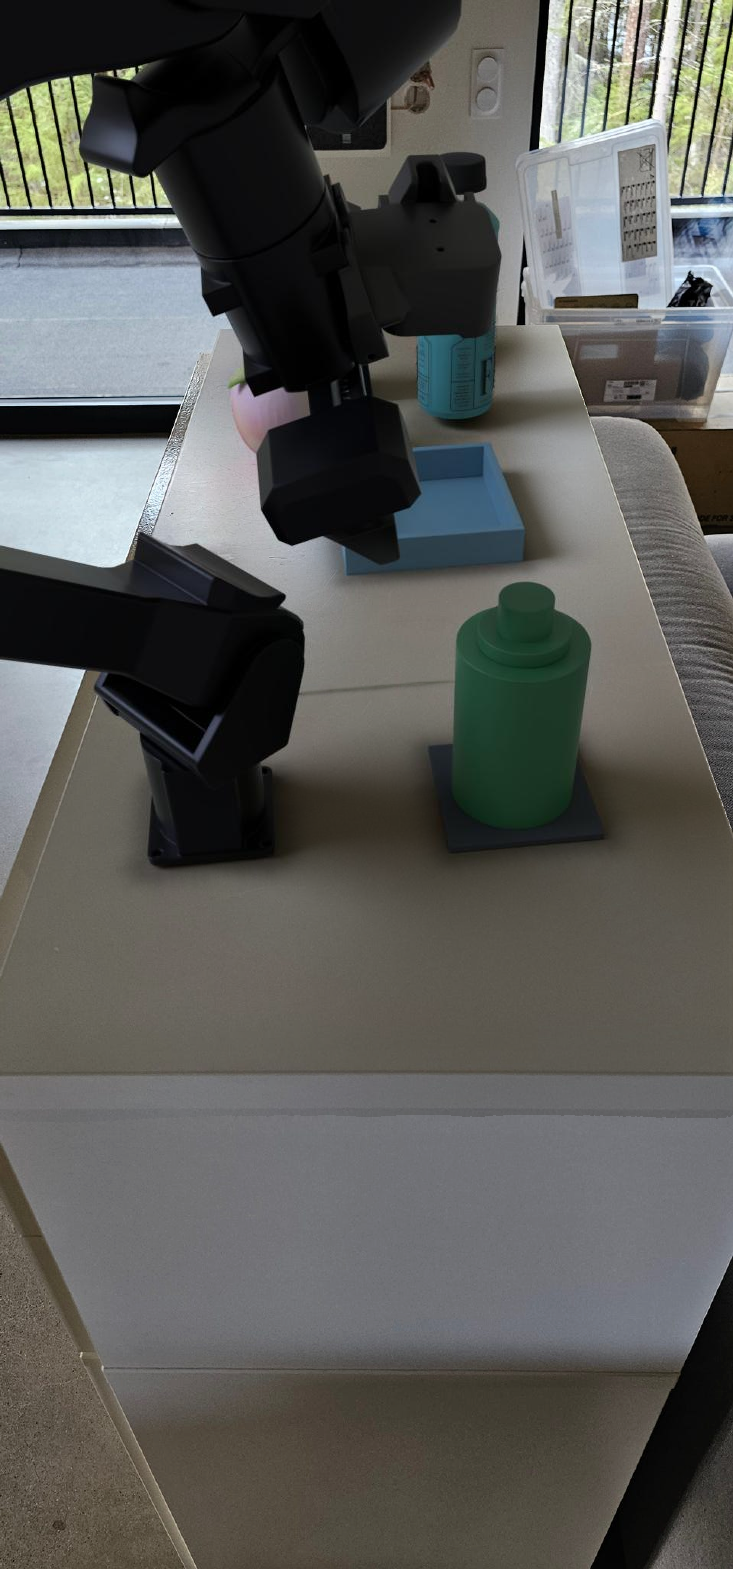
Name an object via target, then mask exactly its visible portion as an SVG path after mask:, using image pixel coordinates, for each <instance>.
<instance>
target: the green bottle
mask: <svg viewBox="0 0 733 1569" xmlns="http://www.w3.org/2000/svg"><path fill="white" fill-rule="evenodd" d="M555 595H556V594H555V593H554V591H553V590H552V589H551V588H549V586H546V585H544V584H541V583H539V582H534V581H517V582H512V583H510V584H507V585H505V586H504V587H502V589H500V591H499V593H498V598H497V605H496V606H493V607H490V608H486V609H484V610H481V611H479V612H477V613H475V614H474V615H472V616H470V617H469V618H467V619H466V620H465V621H464V622H463V623H462V624H461V626H460V627H459V629H458V631H457V634H456V637H455V661H454V688H453V690H454V692H453V694H454V695H453V723H452V725H453V726H452V728H453V729H452V744H453V756H452V792H453V796H454V798H455V800H456V802H457V803H458V805H459V806H460V807H461V809H462V810H463V811H464V812H466V813H467V814H468V815H469V816H471V817H472V818H474V819H476V820H478V821H480V822H482V823H484V824H487V825H490V826H493V827H498V828H503V829H528V828H533V827H537V826H541V825H544V824H546V823H548V822H550V821H552V820H554V819H556V818H557V817H558V816H559V815H561V814H562V813H563V812H564V811H565V809H566V808H567V806H568V805H569V803H570V801H571V797H572V791H573V784H574V776H575V769H576V761H577V758H578V753H579V745H580V737H581V730H582V723H583V714H584V707H585V700H586V692H587V684H588V676H589V669H590V662H591V654H592V639H591V637H590V635H589V633H588V631H587V630H586V628H585V627H584V626H583V625H582V624H581V623H580V622H579V621H578V620H576V619H575V618H573V617H572V616H570V615H569V614H566V613H565V612H562V611H560V610H557V609H555V608H556V607H555V606H556V596H555Z"/></svg>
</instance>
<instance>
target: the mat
mask: <svg viewBox="0 0 733 1569" xmlns="http://www.w3.org/2000/svg"><path fill="white" fill-rule="evenodd" d="M427 752H428V757H429V761H430V765H431V770H432V776H433V780H434V785H435V790H436V795H437V800H438V804H439V810H440V813H441V814H440V815H441V818H442V824H443V828H444V833H445V837H446V841H447V847H448V852H449V853H460V852H461V853H462V852H472V851H482V850H483V851H484V850H493V849H494V850H495V849H503V848H504V849H505V848H514V847H516V848H517V847H527V846H536V845H537V846H539V845H548V844H549V845H550V844H560V843H571V842H582V841H583V842H584V841H592V840H593V841H594V840H604V839H605V836H606V832H605V830H604V827H603V824H602V822H601V819H600V816H599V813H598V811H597V807H596V805H595V802H594V799H593V796H592V794H591V790H590V788H589V785H588V782H587V780H586V777H585V775H584V772H583V769H582V766H581V764H580V761H579V758H578V757H577V761H576V769H575V776H574V784H573V791H572V797H571V801H570V803H569V805H568V806H567V808H566V809H565V811H564V812H563V813H562V814H561V815H559V816H558V817H557V818H556V819H554V820H552V821H550V822H548V823H546V824H544V825H541V826H537V827H533V828H528V829H503V828H498V827H493V826H490V825H487V824H484V823H482V822H480V821H478V820H476V819H474V818H472V817H471V816H469V815H468V814H467V813H466V812H464V811H463V810H462V809H461V807H460V806H459V805H458V803H457V802H456V800H455V798H454V796H453V792H452V756H453V743H446V744H444V743H443V744H434V745H433V744H432V745H428V746H427Z"/></svg>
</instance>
